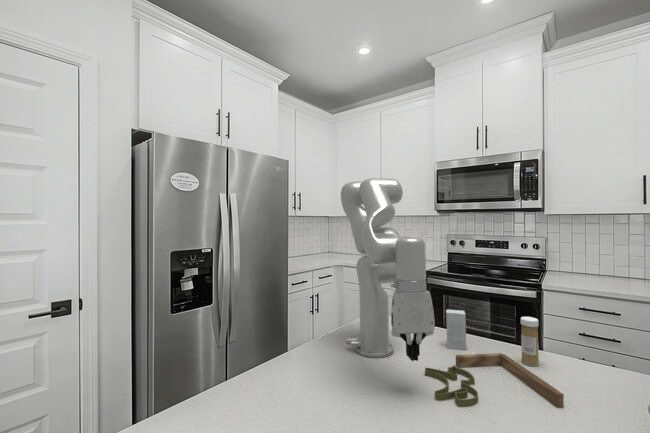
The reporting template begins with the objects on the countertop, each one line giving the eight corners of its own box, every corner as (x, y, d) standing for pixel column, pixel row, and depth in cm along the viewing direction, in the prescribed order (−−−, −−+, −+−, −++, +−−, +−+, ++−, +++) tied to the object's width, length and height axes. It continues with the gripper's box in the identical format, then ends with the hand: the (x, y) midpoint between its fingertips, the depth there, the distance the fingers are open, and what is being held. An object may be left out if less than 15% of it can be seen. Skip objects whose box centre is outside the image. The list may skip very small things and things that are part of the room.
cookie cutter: (422, 371, 95) (422, 364, 95) (466, 373, 93) (465, 366, 93) (437, 407, 77) (437, 398, 77) (490, 410, 75) (490, 401, 75)
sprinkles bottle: (541, 364, 97) (541, 318, 97) (534, 368, 95) (534, 321, 95) (525, 358, 101) (525, 315, 101) (518, 362, 99) (517, 317, 99)
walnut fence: (502, 410, 74) (502, 397, 74) (455, 365, 97) (455, 355, 97) (563, 407, 76) (563, 394, 76) (502, 363, 98) (502, 353, 98)
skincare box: (465, 345, 112) (465, 310, 112) (466, 350, 108) (466, 314, 108) (446, 343, 114) (446, 309, 114) (446, 348, 110) (446, 312, 110)
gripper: (386, 289, 80) (387, 366, 79) (445, 287, 81) (448, 363, 80) (378, 284, 87) (380, 354, 86) (433, 282, 88) (435, 351, 88)
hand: (412, 358), depth 83 cm, fingers closed
